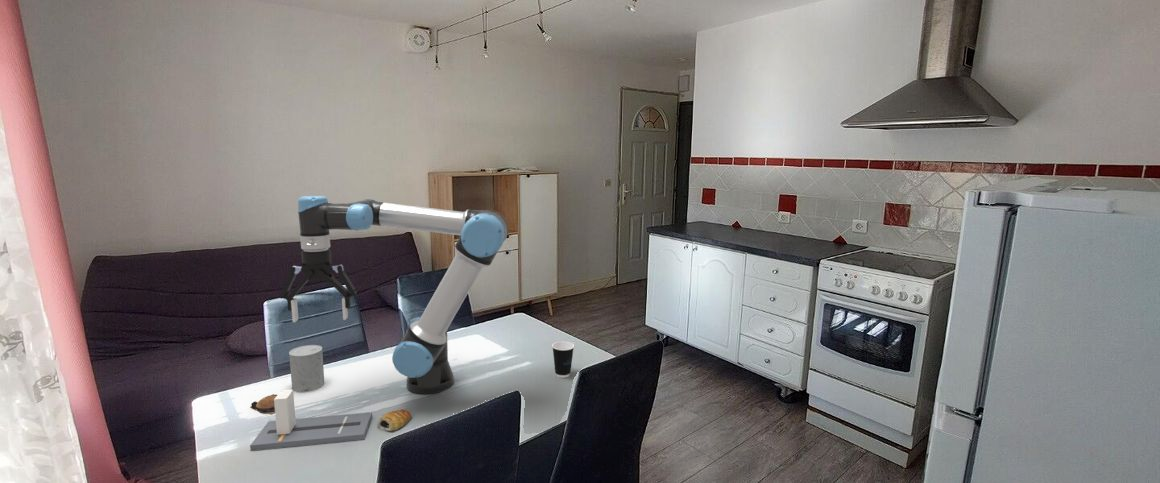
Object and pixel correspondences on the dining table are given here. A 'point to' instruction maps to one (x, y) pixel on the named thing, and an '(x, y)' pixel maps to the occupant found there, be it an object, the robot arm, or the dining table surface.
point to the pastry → (394, 420)
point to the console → (315, 431)
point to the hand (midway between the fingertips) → (320, 319)
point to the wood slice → (265, 405)
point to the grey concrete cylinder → (306, 368)
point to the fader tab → (285, 412)
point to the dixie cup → (563, 358)
